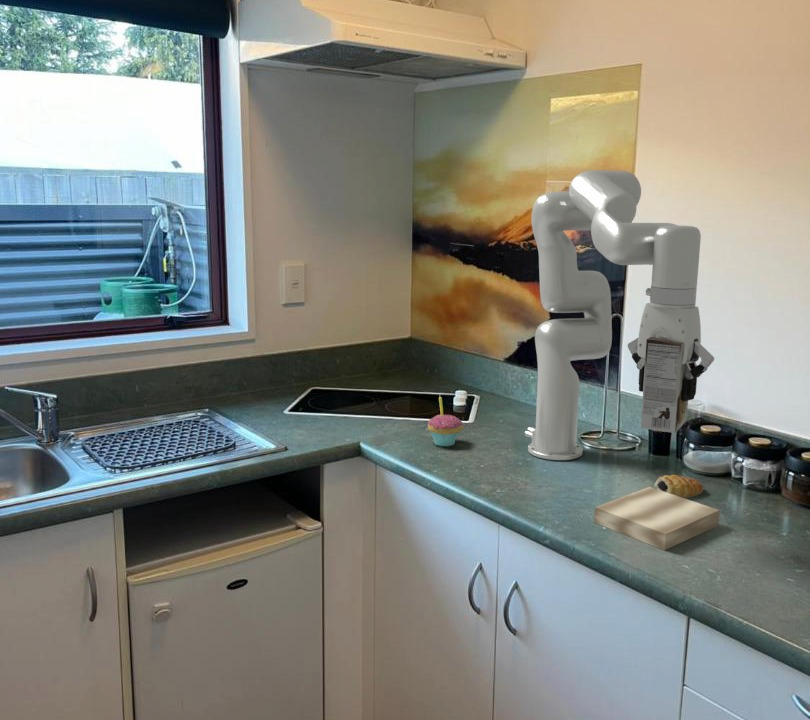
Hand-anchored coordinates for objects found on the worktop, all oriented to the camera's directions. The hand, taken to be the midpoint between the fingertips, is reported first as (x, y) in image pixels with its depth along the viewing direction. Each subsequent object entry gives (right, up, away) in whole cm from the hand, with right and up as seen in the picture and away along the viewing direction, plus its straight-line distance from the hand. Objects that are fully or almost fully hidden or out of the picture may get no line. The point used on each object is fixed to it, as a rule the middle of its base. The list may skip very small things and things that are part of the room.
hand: (666, 394), depth 143 cm
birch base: (0, -24, +5) cm, 25 cm away
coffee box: (0, -6, +1) cm, 6 cm away
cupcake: (-37, -14, +52) cm, 65 cm away
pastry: (+9, -21, +21) cm, 31 cm away
